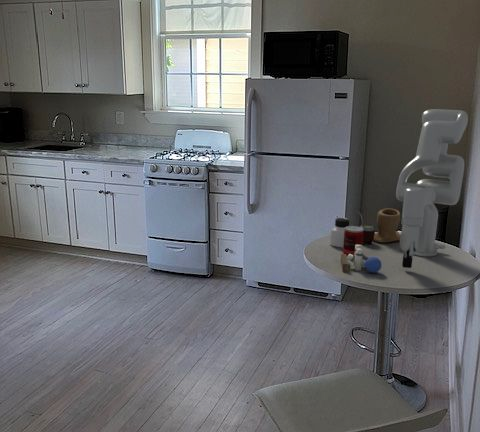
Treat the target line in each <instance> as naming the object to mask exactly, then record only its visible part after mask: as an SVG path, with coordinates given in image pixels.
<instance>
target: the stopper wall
mask: <svg viewBox="0 0 480 432" xmlns="http://www.w3.org/2000/svg"><path fill="white" fill-rule="evenodd" d="M347 257H348V255H346V254H344V253H341V254H340V265H341V271H342V272H345V273H346V272H347V273H348V272H349V260H348V259H347Z"/></svg>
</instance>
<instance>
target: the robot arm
mask: <svg viewBox="0 0 480 432" xmlns="http://www.w3.org/2000/svg"><path fill="white" fill-rule="evenodd" d="M468 121H469V117H468V113H467V112H466V111H465V110H459V109H444V108H443V109H441V108H434V109H431V108H430V109H427V110H425V111H423V112H422V115H421V123H422V127H421V130H420V135H419V139H418V145H417V148H416V154H415V157H414V158H413V159H412V160H411V161H409V162H408V163H407V164H405V166H404V167H403V169H402V171H401V172H400V174H399V177H398V181H397V186H396V190H395V197H396V199H397V200H398V201H399V202H402V203H403V204H402V212H401V213H402V215H401V220H400V222H401V223H400V224H401V225H402V227H401V232H400V235H401V237H400V240H399V246H400V249H401V250H402V251H403V254H402V262H401V266H402V268H406V269H407V268H408V269H411V268H412V267H413V256H417V257H426V258H427V257H428V258H429V257H430V258H431V257H435V256H437V255H438V249H440V250H444V249H446V245H445V244H443V243H438V242H436V235H437V229H438V227H437V226H438V219H439V211H438V209H437V207H436V205H435V204H438V205H448V206H454V205H457V203H458V202H459V200H460V196H461V191H462V190H461V189H462V185H463V179H464V174H465V172H464V171H465V160H464V158H463V157H462V156H460V155H457V154H456V155H455V154H448V147H449V144H452V145H454V144H458V143H459V142H460V141H461V139H462V137H463V134H464V132H465V131H466V128H467V126H468V123H469V122H468ZM421 169H422V173H423V174H424V175H426V176H429V177H435V178H443V179H445V178H447V179H449V180H441V179H440V180H439V179H431V178H422V179H420V180H418V181H417V182H416V183H412V182H407V181H408V179H409V177H410V176H411V174H412V173H414V172H416V171H418V170H421Z"/></svg>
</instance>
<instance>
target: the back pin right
mask: <svg viewBox="0 0 480 432" xmlns="http://www.w3.org/2000/svg"><path fill="white" fill-rule="evenodd" d="M356 249H363V244H362V245H355V255H354V256H356ZM353 266H355V263H354V262H353Z"/></svg>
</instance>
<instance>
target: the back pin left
mask: <svg viewBox="0 0 480 432" xmlns="http://www.w3.org/2000/svg"><path fill="white" fill-rule="evenodd" d="M363 252H364V249H363V248H362V249H356V260H355V265H354V270H355V271H362V266H361V265H362V260H363V254H364V253H363Z"/></svg>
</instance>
